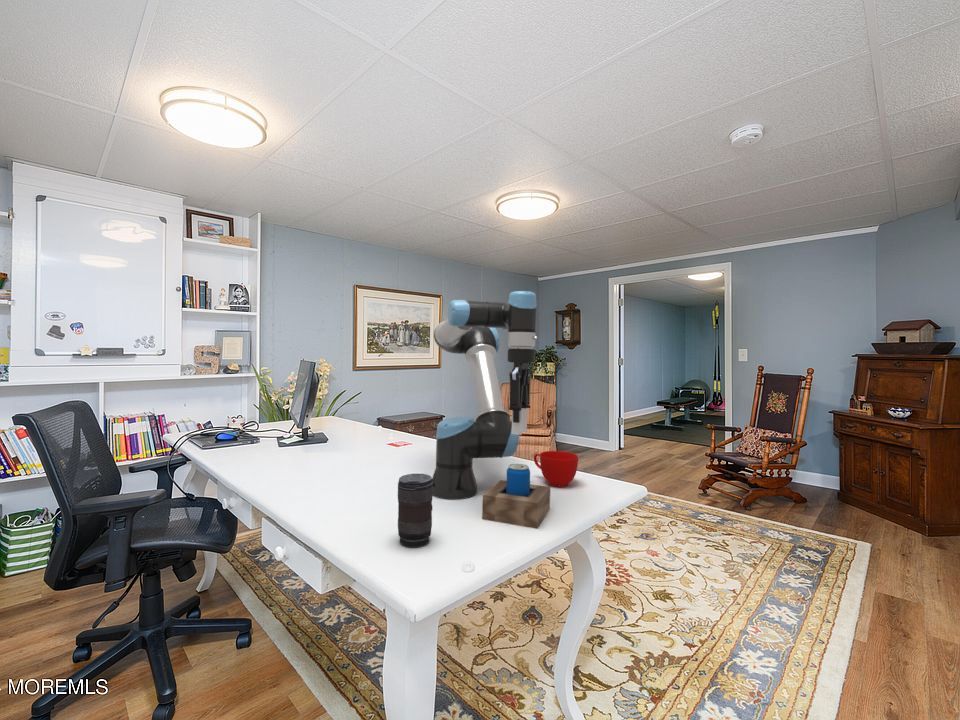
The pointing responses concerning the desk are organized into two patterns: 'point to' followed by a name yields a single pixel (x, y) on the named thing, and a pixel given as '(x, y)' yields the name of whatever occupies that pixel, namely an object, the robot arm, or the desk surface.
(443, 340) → the robot arm
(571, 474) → the ceramic cup
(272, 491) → the desk surface
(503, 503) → the socket block
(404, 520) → the camera lens
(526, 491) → the beverage can
